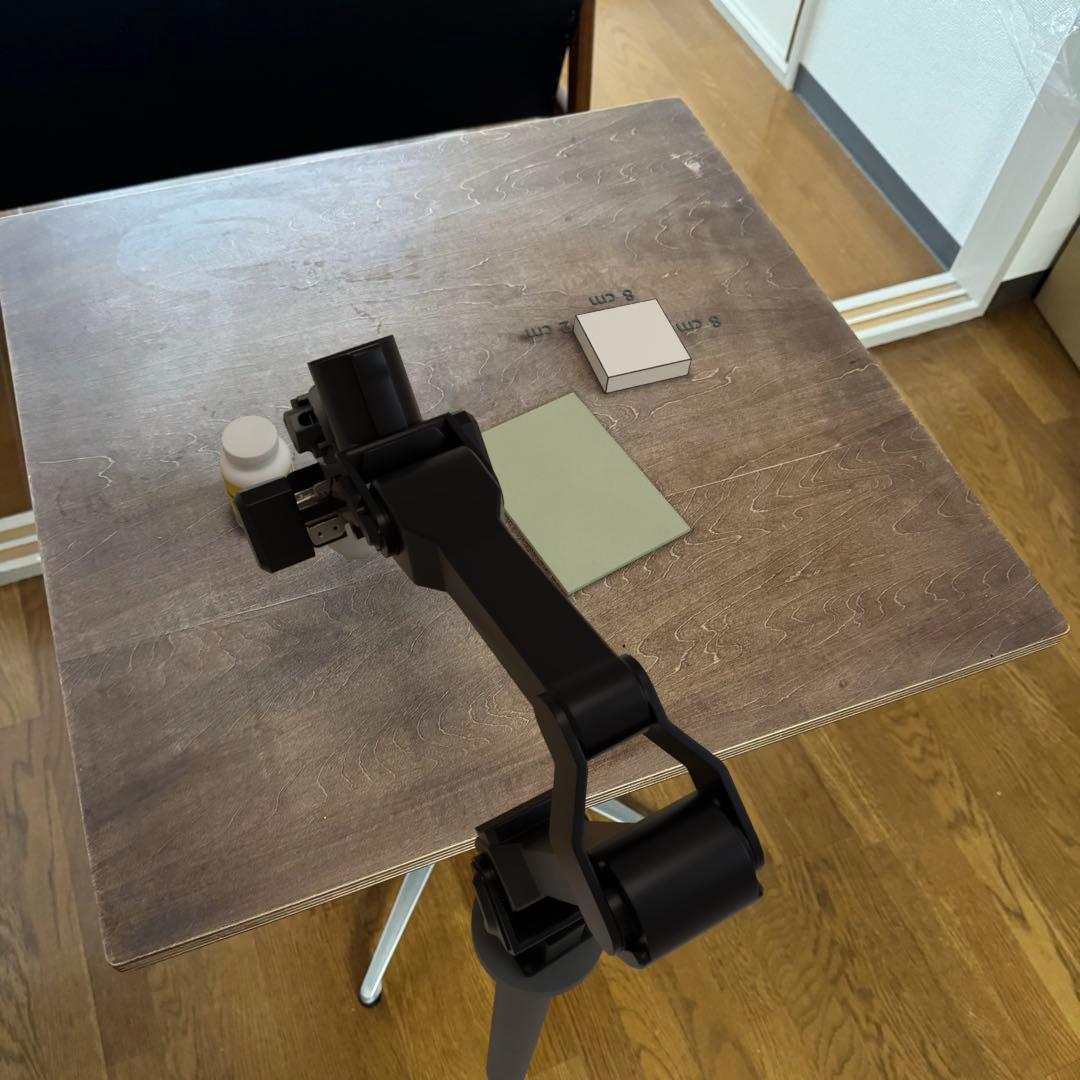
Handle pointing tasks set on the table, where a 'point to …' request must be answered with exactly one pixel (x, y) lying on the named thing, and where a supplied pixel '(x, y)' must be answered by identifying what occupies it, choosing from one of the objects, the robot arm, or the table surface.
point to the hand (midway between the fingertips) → (344, 482)
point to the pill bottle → (252, 455)
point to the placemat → (577, 493)
